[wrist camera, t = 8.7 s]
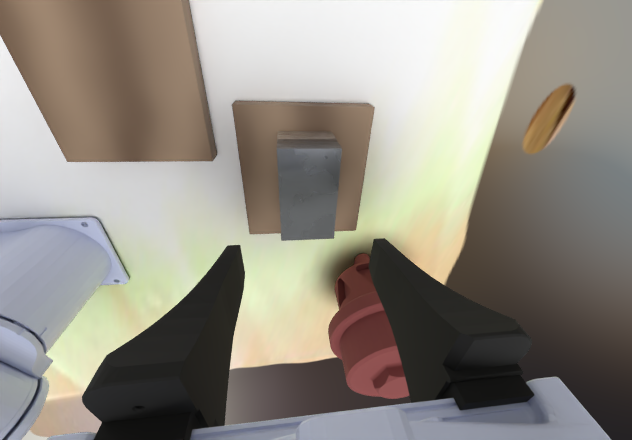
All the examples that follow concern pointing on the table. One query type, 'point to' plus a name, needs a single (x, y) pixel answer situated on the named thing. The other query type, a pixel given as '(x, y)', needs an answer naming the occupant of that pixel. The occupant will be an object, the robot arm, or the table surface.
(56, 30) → the stand
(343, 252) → the table surface
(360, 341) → the mechanical component
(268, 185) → the stand
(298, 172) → the block
